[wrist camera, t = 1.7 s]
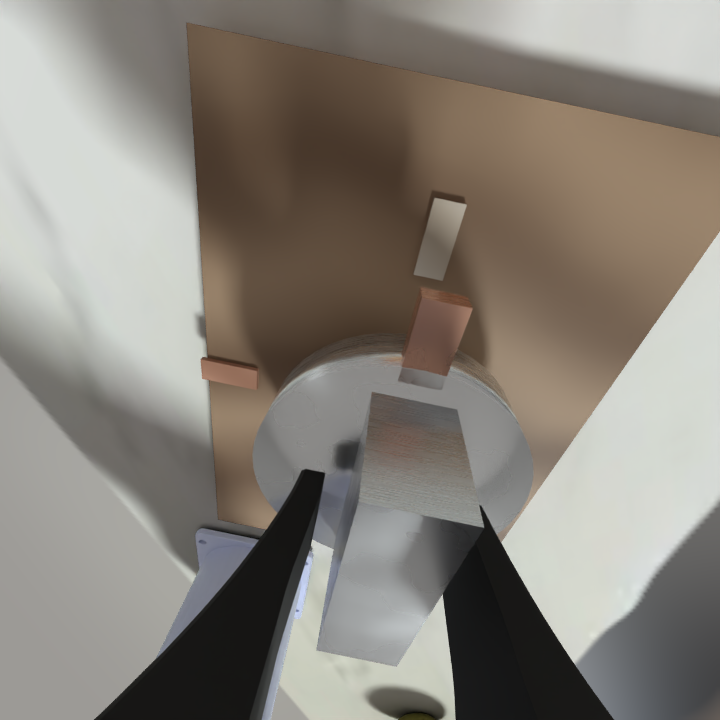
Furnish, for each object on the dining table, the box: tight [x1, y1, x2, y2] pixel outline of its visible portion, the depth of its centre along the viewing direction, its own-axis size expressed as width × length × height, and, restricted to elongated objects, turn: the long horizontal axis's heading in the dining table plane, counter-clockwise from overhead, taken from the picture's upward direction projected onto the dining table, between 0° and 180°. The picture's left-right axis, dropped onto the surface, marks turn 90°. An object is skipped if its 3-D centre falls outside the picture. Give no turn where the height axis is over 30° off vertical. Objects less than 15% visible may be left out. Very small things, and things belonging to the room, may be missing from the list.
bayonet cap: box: [252, 287, 534, 667], centre depth 10 cm, size 11×9×6 cm
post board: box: [187, 23, 720, 542], centre depth 14 cm, size 22×16×3 cm
